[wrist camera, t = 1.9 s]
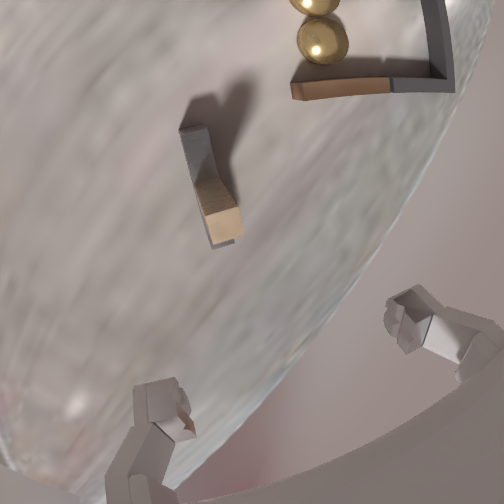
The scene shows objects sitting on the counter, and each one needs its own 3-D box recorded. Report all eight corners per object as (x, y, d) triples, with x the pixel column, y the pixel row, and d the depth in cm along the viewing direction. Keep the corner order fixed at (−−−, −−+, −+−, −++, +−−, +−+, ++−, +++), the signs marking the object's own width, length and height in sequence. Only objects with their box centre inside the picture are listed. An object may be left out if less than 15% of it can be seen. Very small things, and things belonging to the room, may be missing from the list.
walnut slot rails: (262, -50, 15) (272, -61, 13) (350, -43, 17) (365, -49, 15) (292, 99, 24) (305, 100, 22) (374, 90, 25) (390, 93, 23)
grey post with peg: (178, 129, 23) (187, 151, 15) (202, 123, 23) (223, 141, 16) (206, 233, 28) (227, 293, 21) (227, 227, 29) (255, 284, 21)
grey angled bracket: (354, -42, 17) (369, -48, 15) (423, -24, 18) (438, -27, 16) (378, 90, 25) (394, 92, 23) (439, 89, 27) (455, 92, 25)
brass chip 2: (291, 21, 20) (299, 18, 19) (335, 20, 21) (344, 18, 19) (300, 66, 23) (308, 65, 21) (342, 63, 23) (351, 63, 22)
